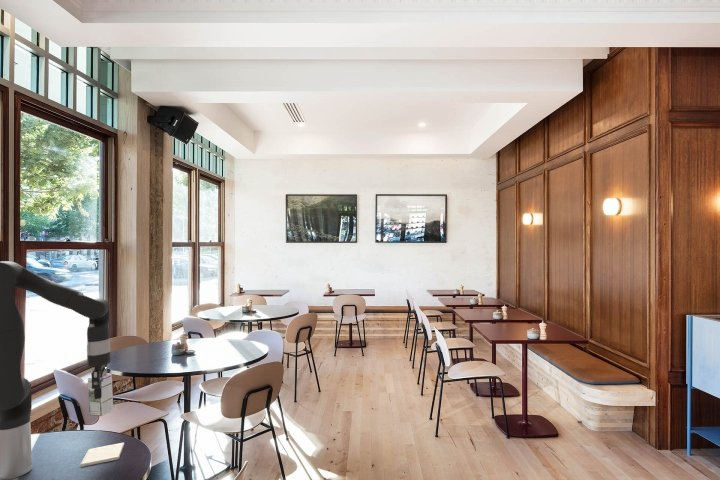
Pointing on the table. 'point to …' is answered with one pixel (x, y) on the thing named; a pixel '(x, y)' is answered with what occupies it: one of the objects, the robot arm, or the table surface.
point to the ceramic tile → (102, 454)
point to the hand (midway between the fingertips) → (100, 394)
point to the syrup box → (106, 401)
